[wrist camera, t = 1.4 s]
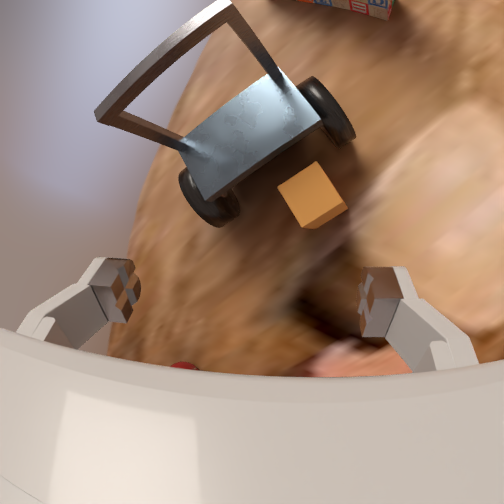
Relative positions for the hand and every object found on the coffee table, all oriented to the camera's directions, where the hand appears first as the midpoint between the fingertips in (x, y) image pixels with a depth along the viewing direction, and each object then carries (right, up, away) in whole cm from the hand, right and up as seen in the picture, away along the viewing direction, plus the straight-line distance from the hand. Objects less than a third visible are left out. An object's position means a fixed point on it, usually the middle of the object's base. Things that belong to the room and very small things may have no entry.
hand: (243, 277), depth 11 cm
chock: (+9, +7, +28) cm, 30 cm away
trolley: (+4, +13, +29) cm, 33 cm away
